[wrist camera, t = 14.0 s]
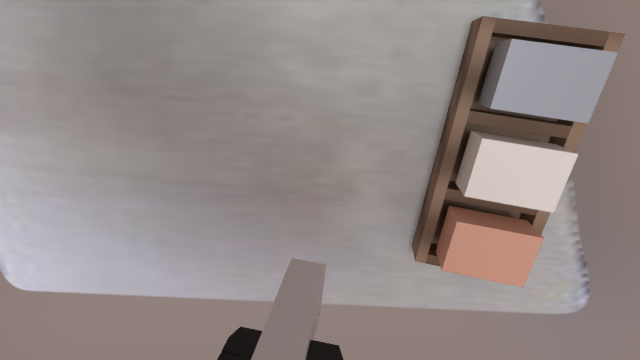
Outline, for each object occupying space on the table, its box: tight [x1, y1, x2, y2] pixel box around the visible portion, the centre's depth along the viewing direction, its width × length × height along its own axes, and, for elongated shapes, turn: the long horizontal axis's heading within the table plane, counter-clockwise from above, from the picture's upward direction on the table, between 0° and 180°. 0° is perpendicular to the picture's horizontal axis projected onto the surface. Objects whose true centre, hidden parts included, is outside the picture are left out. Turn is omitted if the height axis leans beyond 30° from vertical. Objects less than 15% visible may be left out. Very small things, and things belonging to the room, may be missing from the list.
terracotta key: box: [436, 206, 544, 287], centre depth 29 cm, size 5×7×3 cm
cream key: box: [455, 131, 578, 213], centre depth 27 cm, size 5×7×3 cm
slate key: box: [478, 39, 618, 123], centre depth 25 cm, size 5×7×3 cm
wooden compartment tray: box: [412, 16, 625, 266], centre depth 30 cm, size 22×10×3 cm, turn 172°
